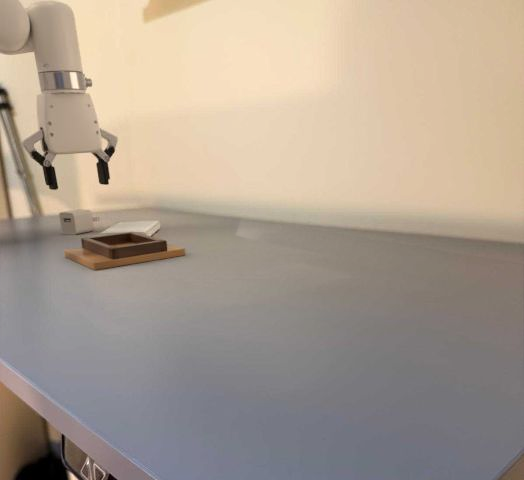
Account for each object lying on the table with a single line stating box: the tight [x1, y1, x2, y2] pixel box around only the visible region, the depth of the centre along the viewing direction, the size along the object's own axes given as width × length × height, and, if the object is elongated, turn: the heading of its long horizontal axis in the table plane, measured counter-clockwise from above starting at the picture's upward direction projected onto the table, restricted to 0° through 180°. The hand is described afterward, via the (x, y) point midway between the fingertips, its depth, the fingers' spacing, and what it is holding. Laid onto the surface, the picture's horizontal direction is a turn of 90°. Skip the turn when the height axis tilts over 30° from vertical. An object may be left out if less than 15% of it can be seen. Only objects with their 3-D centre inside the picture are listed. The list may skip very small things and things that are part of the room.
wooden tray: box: [63, 232, 186, 271], centre depth 80 cm, size 12×14×2 cm
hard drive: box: [98, 220, 161, 237], centre depth 98 cm, size 2×8×12 cm
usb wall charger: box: [58, 208, 101, 236], centre depth 103 cm, size 4×7×4 cm, turn 150°
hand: (79, 186), depth 101 cm, fingers open, 9 cm apart
